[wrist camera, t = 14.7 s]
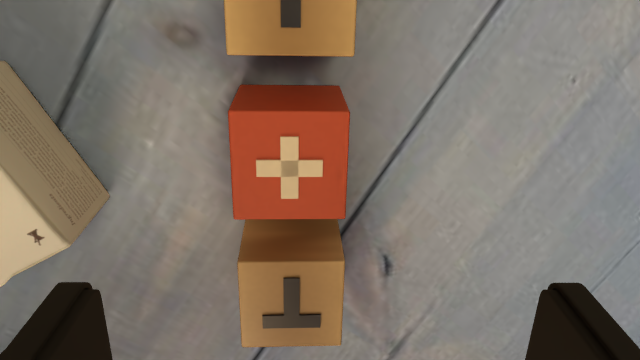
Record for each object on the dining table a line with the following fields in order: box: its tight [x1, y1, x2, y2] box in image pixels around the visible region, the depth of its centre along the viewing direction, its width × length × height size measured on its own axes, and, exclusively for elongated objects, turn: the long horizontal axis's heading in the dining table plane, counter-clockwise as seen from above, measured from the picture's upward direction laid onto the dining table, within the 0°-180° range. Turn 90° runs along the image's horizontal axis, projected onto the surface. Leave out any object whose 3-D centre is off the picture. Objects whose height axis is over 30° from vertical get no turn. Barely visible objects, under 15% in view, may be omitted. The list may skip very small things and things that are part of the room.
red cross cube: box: [228, 85, 350, 219], centre depth 22 cm, size 5×5×5 cm
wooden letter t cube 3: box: [237, 219, 345, 347], centre depth 24 cm, size 5×5×5 cm
